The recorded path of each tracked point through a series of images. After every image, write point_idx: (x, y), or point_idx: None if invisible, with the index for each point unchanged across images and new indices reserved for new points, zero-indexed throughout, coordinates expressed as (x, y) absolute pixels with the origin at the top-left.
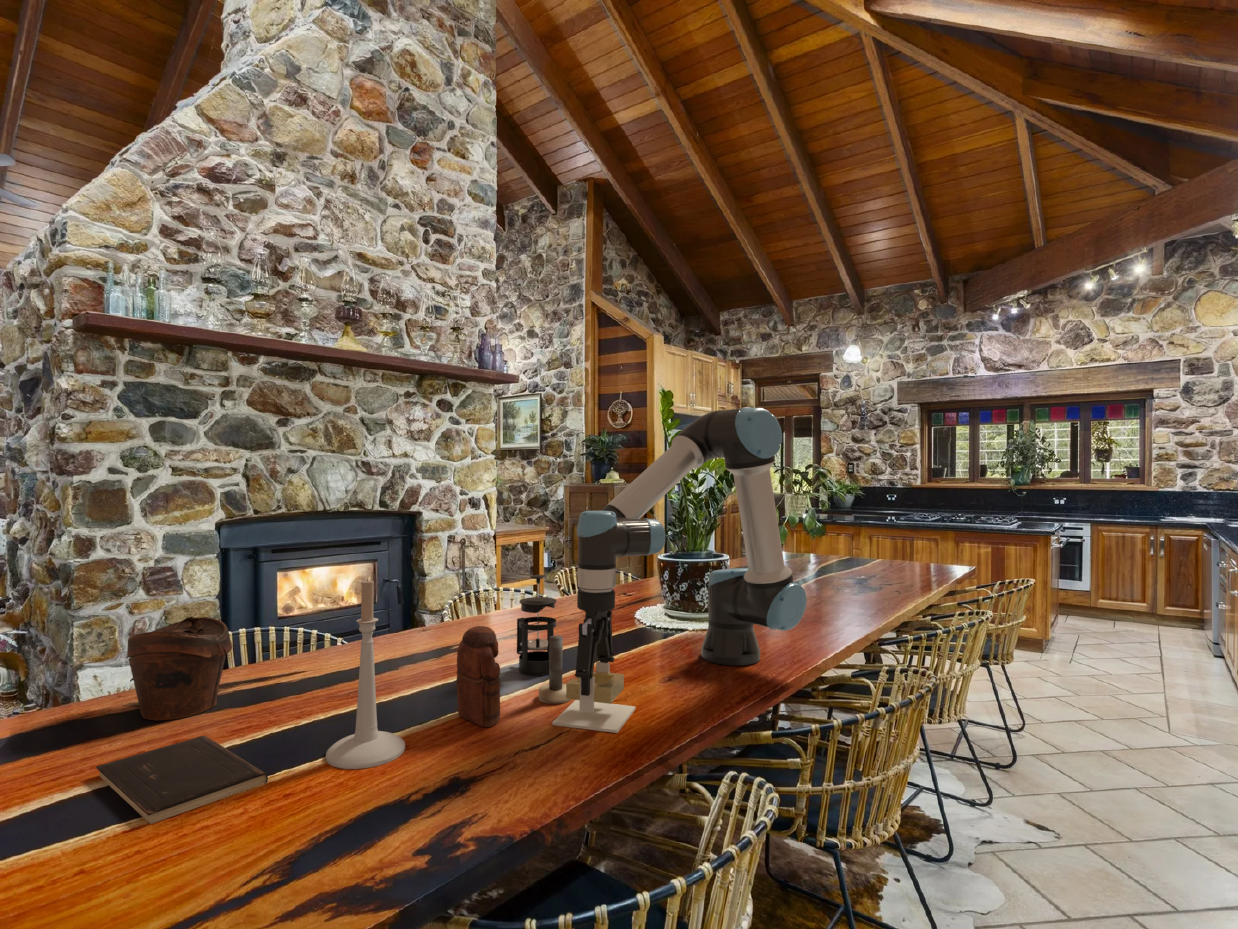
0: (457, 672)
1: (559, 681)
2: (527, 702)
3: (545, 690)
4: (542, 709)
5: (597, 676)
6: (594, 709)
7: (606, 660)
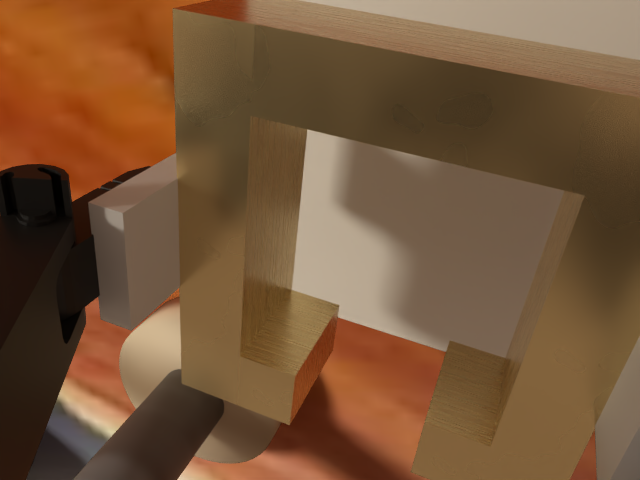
0: None
1: (184, 415)
2: (298, 470)
3: (233, 440)
4: (370, 421)
5: (255, 264)
6: (361, 179)
7: (75, 247)
